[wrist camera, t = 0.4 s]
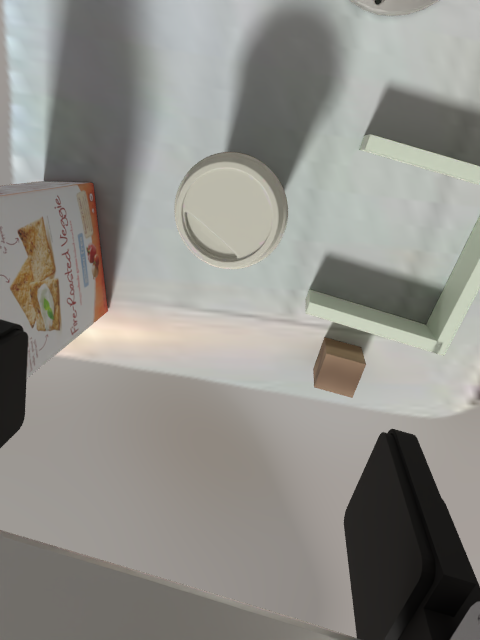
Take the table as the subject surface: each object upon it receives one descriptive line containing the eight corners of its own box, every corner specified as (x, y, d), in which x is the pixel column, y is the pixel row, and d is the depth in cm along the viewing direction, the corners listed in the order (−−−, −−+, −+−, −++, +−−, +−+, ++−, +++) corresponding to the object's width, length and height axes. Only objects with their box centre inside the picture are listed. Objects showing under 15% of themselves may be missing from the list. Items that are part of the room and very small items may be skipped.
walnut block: (324, 336, 46) (326, 353, 42) (360, 346, 46) (366, 364, 42) (313, 368, 47) (314, 387, 44) (348, 378, 47) (352, 397, 43)
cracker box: (113, 311, 48) (-15, 420, 29) (62, 308, 49) (-95, 412, 29) (98, 180, 43) (-70, 206, 23) (42, 179, 43) (-166, 204, 24)
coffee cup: (192, 167, 41) (150, 174, 30) (278, 138, 39) (267, 134, 28) (219, 252, 44) (191, 287, 33) (301, 229, 42) (300, 258, 31)
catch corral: (364, 135, 38) (370, 134, 34) (512, 179, 38) (535, 182, 34) (305, 299, 44) (305, 313, 41) (432, 338, 44) (443, 355, 40)
